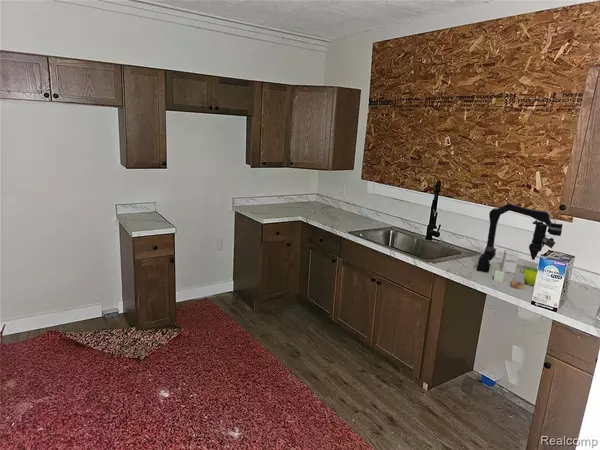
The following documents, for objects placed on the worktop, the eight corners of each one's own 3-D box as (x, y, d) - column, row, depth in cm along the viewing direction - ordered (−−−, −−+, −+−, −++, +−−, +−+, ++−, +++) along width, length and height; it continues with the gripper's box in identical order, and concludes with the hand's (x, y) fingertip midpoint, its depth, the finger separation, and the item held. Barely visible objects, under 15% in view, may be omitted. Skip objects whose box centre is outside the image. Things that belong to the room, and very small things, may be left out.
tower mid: (513, 281, 229) (514, 274, 228) (513, 278, 233) (514, 271, 232) (523, 283, 227) (524, 276, 226) (523, 280, 231) (524, 273, 230)
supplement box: (502, 271, 256) (505, 252, 253) (500, 268, 263) (504, 249, 260) (515, 273, 254) (518, 254, 251) (513, 270, 260) (517, 251, 257)
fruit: (519, 280, 242) (523, 264, 240) (537, 283, 239) (541, 267, 236) (520, 285, 234) (523, 268, 232) (539, 288, 230) (542, 271, 228)
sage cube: (493, 280, 239) (495, 272, 238) (494, 278, 244) (495, 270, 242) (503, 282, 237) (504, 274, 236) (503, 279, 241) (504, 271, 240)
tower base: (511, 287, 229) (512, 281, 228) (511, 284, 235) (512, 278, 234) (523, 290, 227) (524, 283, 226) (523, 287, 232) (524, 280, 231)
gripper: (554, 238, 224) (548, 265, 228) (557, 232, 239) (551, 258, 243) (531, 234, 230) (525, 260, 234) (536, 228, 245) (530, 253, 249)
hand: (534, 258), depth 240 cm, fingers open, 9 cm apart
